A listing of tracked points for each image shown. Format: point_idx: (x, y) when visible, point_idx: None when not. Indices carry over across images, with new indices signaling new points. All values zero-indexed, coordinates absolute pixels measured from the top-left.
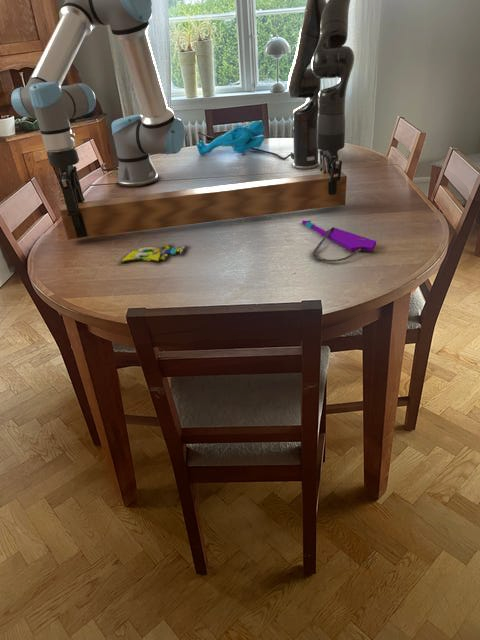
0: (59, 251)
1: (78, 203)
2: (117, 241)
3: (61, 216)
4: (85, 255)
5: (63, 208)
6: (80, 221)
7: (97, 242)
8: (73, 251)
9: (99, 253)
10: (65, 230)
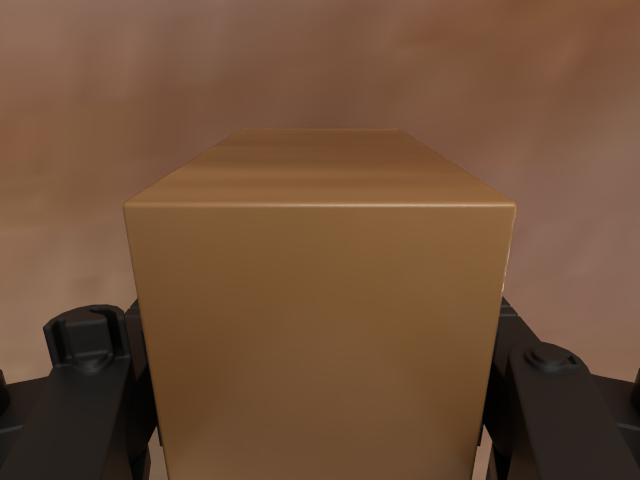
0: (151, 49)
1: (416, 474)
2: None
3: (165, 177)
4: (50, 264)
5: (226, 265)
6: None
7: None
8: (132, 169)
9: None
10: (223, 140)
